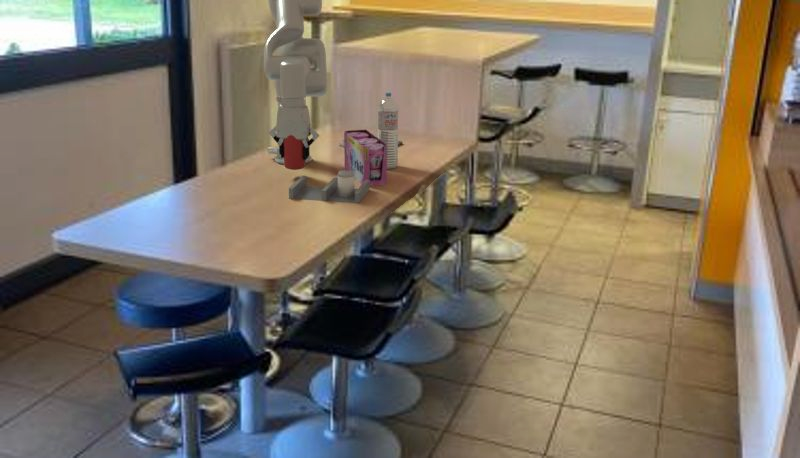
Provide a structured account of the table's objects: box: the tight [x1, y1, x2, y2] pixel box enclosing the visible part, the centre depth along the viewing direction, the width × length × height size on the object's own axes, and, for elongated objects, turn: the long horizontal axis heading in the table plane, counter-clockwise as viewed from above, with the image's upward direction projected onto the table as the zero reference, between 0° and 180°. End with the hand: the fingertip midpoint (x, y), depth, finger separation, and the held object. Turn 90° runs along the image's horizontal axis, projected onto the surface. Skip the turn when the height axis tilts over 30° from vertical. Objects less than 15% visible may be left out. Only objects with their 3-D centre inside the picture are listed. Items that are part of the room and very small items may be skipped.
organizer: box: [288, 175, 370, 204], centre depth 239 cm, size 21×14×4 cm
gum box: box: [343, 129, 388, 187], centre depth 257 cm, size 24×8×14 cm, turn 19°
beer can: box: [283, 135, 306, 171], centre depth 253 cm, size 7×7×12 cm
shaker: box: [336, 169, 356, 198], centre depth 237 cm, size 5×5×7 cm
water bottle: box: [377, 92, 400, 170], centre depth 269 cm, size 7×7×25 cm
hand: (294, 157), depth 254 cm, fingers closed on beer can, 6 cm apart
